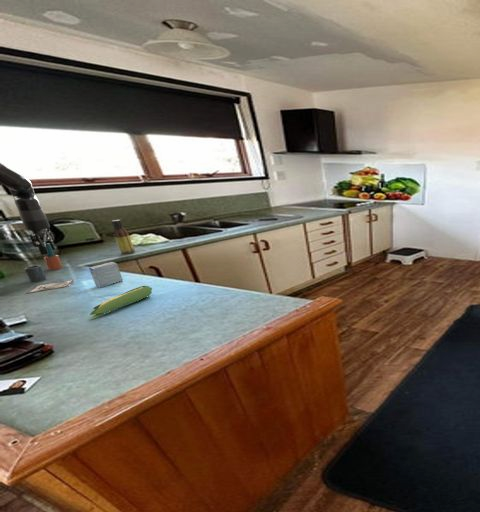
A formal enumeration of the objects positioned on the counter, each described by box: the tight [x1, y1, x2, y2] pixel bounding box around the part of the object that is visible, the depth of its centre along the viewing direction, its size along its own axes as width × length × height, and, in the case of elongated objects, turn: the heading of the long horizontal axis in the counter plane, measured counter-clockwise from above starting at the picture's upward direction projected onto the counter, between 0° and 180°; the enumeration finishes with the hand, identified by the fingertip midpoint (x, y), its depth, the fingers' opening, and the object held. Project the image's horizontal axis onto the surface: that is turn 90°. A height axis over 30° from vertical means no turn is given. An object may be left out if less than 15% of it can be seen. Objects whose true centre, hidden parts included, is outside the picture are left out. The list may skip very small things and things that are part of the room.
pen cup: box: [43, 254, 64, 271], centre depth 136 cm, size 5×5×7 cm
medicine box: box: [88, 261, 124, 288], centre depth 118 cm, size 8×4×9 cm, turn 154°
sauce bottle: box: [111, 219, 136, 255], centre depth 158 cm, size 7×6×20 cm
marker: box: [45, 243, 56, 257], centre depth 135 cm, size 2×2×13 cm
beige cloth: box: [25, 279, 76, 295], centre depth 116 cm, size 12×9×1 cm
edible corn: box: [88, 285, 153, 321], centre depth 99 cm, size 5×20×5 cm, turn 162°
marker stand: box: [23, 264, 47, 284], centre depth 122 cm, size 5×5×7 cm
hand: (48, 252), depth 134 cm, fingers open, 7 cm apart
